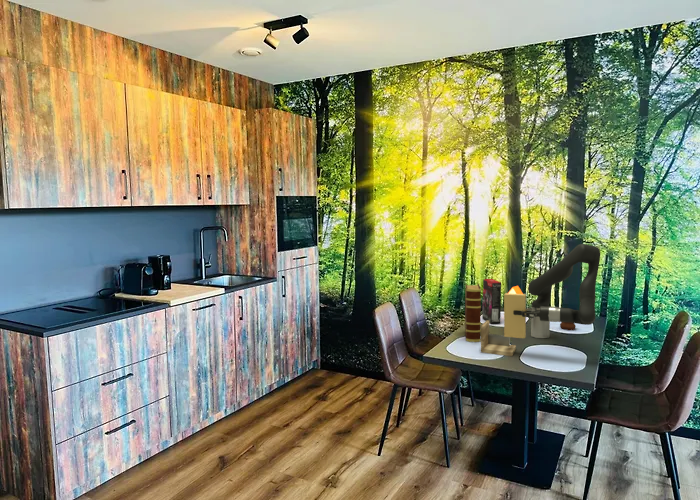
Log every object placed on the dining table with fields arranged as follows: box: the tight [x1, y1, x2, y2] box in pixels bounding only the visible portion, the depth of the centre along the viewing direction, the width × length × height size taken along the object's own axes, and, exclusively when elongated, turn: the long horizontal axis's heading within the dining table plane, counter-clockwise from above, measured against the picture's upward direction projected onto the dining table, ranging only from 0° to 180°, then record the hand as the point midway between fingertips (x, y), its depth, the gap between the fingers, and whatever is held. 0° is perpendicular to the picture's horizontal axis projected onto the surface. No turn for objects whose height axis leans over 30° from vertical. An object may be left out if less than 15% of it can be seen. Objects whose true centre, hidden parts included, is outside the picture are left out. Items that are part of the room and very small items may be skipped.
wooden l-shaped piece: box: [480, 320, 517, 357], centre depth 251 cm, size 16×14×14 cm
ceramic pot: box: [559, 322, 576, 331], centre depth 294 cm, size 18×18×7 cm
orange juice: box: [508, 285, 524, 294], centre depth 334 cm, size 8×9×20 cm
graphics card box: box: [481, 278, 502, 325], centre depth 315 cm, size 17×7×27 cm, turn 5°
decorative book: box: [464, 283, 482, 343], centre depth 278 cm, size 22×8×30 cm, turn 168°
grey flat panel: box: [488, 333, 511, 346], centre depth 255 cm, size 11×2×5 cm, turn 63°
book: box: [503, 292, 527, 339], centre depth 246 cm, size 4×10×22 cm, turn 63°
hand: (514, 311), depth 246 cm, fingers closed on book, 4 cm apart
